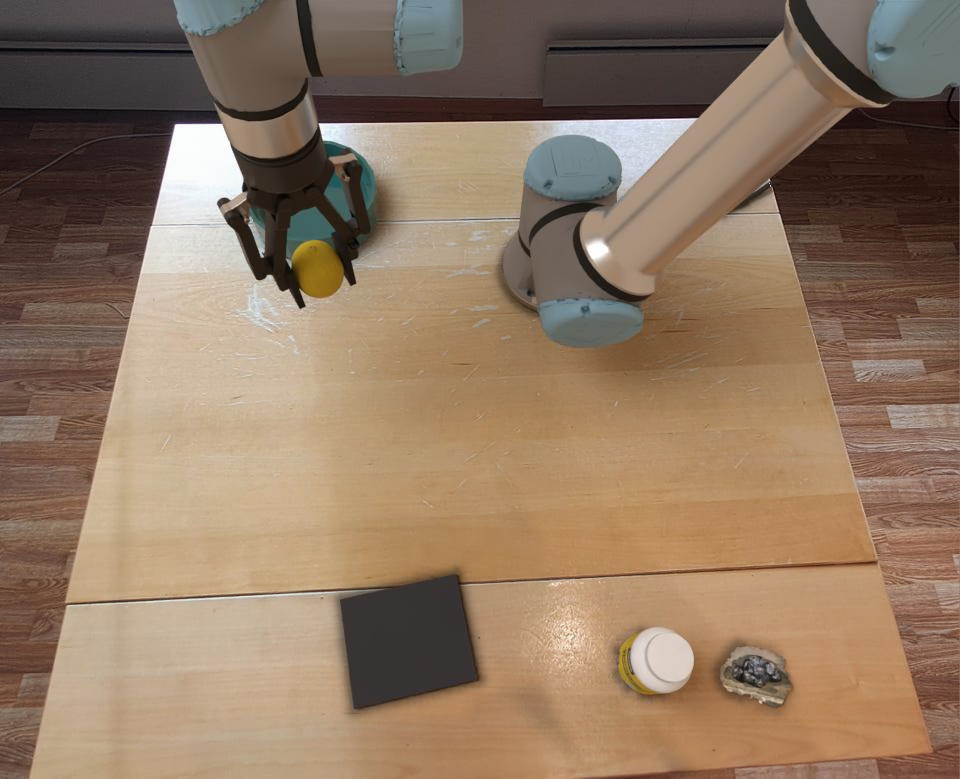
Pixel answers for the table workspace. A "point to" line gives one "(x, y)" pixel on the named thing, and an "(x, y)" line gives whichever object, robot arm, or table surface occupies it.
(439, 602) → the mat
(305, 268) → the lemon
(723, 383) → the table surface
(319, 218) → the bowl
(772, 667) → the mineral rock
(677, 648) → the pill bottle
